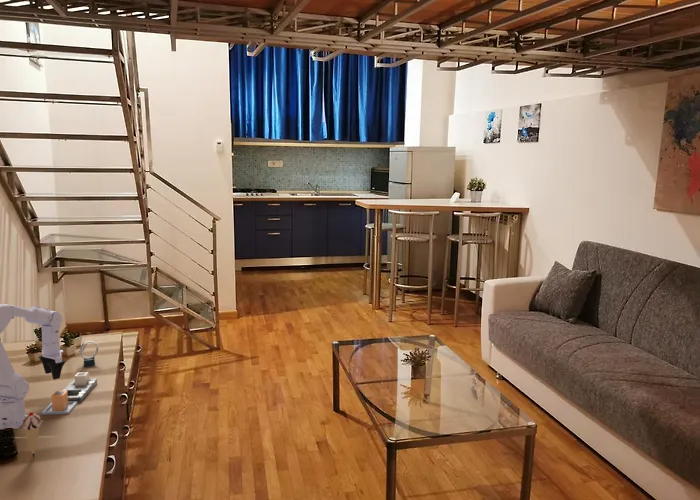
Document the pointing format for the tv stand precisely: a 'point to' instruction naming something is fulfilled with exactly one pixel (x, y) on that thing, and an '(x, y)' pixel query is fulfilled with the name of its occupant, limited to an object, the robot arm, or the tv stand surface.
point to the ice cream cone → (32, 429)
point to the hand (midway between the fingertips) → (52, 375)
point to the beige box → (81, 378)
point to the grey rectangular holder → (79, 390)
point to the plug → (59, 401)
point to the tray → (49, 411)
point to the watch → (88, 360)
